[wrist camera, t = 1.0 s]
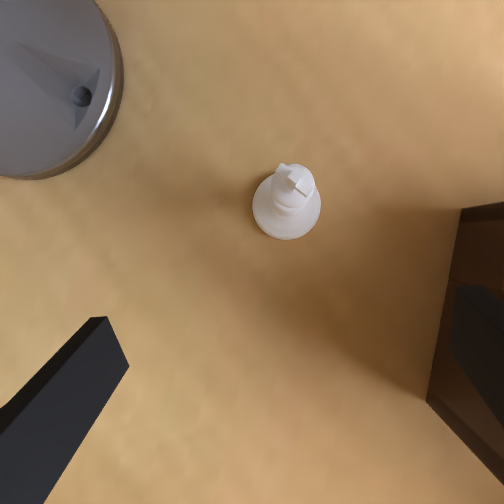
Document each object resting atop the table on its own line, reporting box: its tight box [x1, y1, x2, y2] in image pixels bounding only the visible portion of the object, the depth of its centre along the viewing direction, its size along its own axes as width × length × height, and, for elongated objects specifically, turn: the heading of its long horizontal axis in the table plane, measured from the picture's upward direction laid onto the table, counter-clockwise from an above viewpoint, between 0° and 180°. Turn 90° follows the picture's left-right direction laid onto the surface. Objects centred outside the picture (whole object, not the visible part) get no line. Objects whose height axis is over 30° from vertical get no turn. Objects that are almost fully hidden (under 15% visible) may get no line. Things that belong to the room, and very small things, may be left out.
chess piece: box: [252, 163, 321, 240], centre depth 16 cm, size 5×5×10 cm
